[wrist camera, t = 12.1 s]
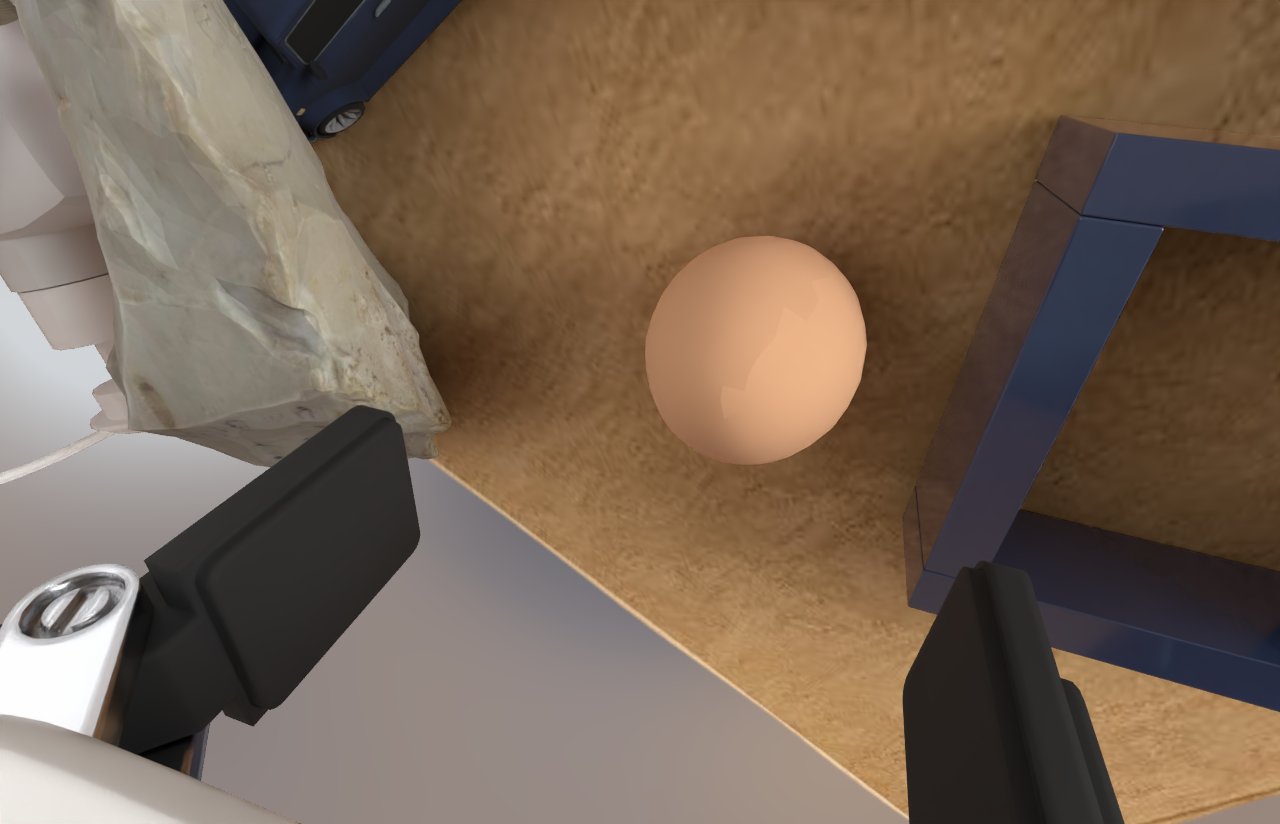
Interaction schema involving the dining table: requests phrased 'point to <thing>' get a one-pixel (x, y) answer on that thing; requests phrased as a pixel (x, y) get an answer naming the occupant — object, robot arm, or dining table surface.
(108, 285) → the soap bottle
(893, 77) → the dining table surface
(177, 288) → the stone
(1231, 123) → the dining table surface
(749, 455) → the egg
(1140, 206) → the container
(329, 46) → the toy car
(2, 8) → the fish
